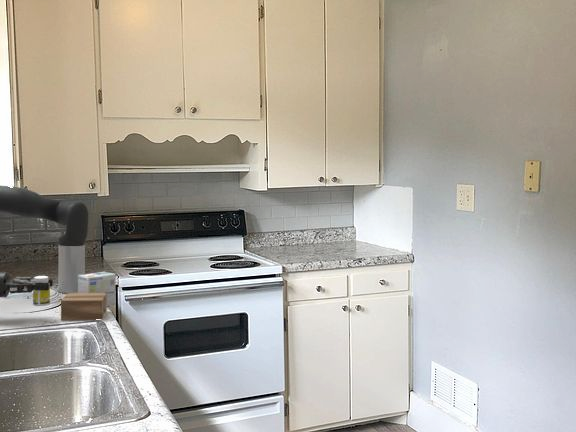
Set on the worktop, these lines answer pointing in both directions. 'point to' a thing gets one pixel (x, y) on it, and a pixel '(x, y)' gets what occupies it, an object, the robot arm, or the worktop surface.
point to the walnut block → (83, 306)
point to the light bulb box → (98, 285)
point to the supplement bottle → (41, 292)
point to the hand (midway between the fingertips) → (50, 284)
